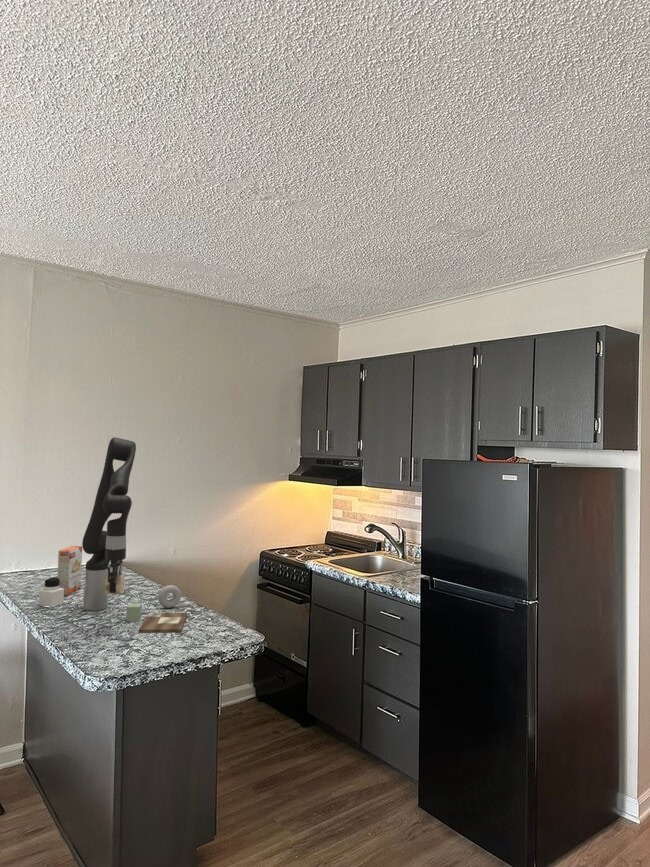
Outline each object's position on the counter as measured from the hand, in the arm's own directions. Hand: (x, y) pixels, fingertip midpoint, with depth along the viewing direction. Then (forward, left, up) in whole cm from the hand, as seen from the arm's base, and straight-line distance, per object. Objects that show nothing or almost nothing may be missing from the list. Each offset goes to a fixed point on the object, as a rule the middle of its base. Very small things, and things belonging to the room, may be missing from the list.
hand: (114, 590), depth 237 cm
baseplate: (+18, +7, -15) cm, 25 cm away
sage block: (+5, +13, -15) cm, 21 cm away
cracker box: (-33, +58, -16) cm, 68 cm away
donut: (+17, +30, -16) cm, 38 cm away
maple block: (0, 0, -1) cm, 1 cm away
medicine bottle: (-34, +35, -16) cm, 51 cm away
